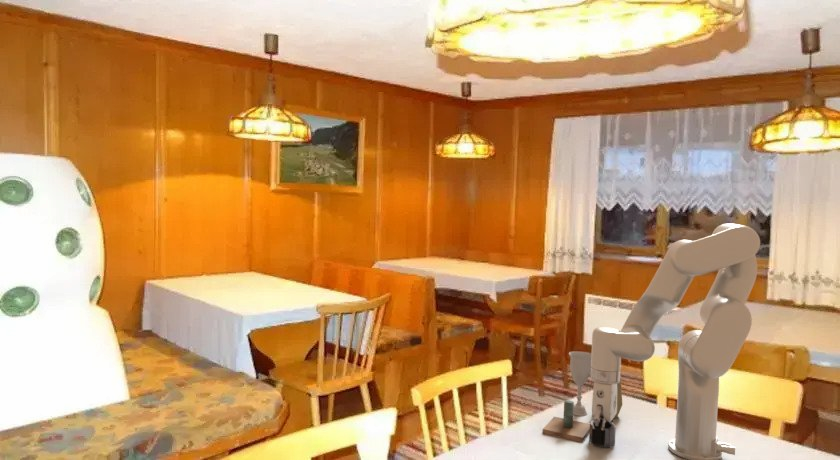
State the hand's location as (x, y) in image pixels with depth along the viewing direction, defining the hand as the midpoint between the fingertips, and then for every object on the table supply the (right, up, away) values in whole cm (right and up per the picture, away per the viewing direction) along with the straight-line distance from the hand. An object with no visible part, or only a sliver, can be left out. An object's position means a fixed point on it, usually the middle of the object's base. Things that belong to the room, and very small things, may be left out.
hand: (602, 437), depth 161 cm
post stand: (-7, -1, +7) cm, 11 cm away
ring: (0, -1, 0) cm, 1 cm away
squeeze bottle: (+8, 0, +21) cm, 22 cm away
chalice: (-1, 0, +22) cm, 22 cm away
